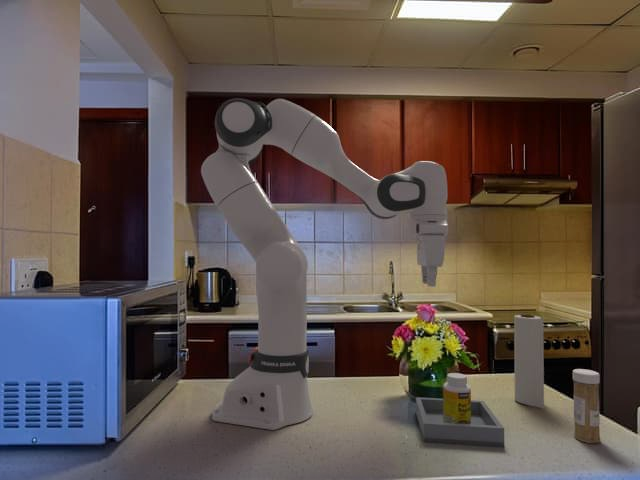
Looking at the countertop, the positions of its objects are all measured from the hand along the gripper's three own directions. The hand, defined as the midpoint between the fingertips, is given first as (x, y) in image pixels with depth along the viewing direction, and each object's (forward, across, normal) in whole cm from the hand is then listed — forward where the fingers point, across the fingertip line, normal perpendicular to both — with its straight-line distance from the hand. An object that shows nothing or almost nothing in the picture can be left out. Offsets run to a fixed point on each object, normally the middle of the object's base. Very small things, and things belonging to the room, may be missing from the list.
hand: (428, 284), depth 101 cm
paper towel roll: (+29, -6, +25) cm, 39 cm away
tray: (+29, +12, +4) cm, 32 cm away
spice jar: (+29, +14, +29) cm, 44 cm away
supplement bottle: (+28, +12, +4) cm, 31 cm away
